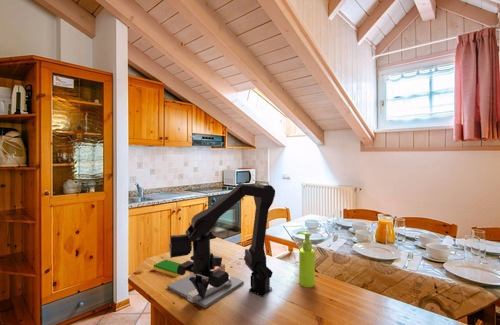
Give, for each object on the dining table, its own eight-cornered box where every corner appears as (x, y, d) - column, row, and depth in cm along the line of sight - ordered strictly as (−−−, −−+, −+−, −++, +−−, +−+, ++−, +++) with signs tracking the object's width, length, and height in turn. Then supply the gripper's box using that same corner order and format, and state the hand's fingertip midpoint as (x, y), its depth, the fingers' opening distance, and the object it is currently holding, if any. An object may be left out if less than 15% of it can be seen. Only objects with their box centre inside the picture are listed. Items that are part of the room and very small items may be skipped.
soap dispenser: (299, 277, 106) (300, 229, 105) (316, 282, 102) (316, 231, 102) (294, 284, 101) (294, 233, 100) (311, 288, 97) (312, 236, 96)
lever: (226, 278, 102) (226, 270, 102) (234, 283, 99) (234, 275, 99) (185, 298, 89) (185, 289, 89) (194, 304, 86) (194, 294, 85)
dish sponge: (176, 278, 107) (175, 272, 107) (153, 270, 114) (153, 265, 114) (188, 271, 113) (188, 265, 113) (165, 264, 120) (165, 259, 120)
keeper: (224, 274, 107) (224, 264, 106) (209, 283, 100) (209, 272, 100) (217, 271, 109) (217, 262, 109) (202, 279, 102) (202, 269, 102)
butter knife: (244, 254, 130) (239, 252, 131) (215, 278, 106) (209, 276, 107) (244, 255, 130) (239, 253, 131) (215, 280, 106) (209, 278, 107)
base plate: (243, 283, 101) (243, 281, 101) (205, 308, 85) (205, 305, 85) (206, 268, 114) (206, 266, 114) (167, 288, 98) (167, 285, 98)
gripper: (238, 249, 89) (239, 294, 90) (198, 240, 99) (199, 280, 100) (217, 261, 80) (218, 311, 80) (175, 250, 90) (176, 294, 90)
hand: (202, 297), depth 88 cm, fingers closed
